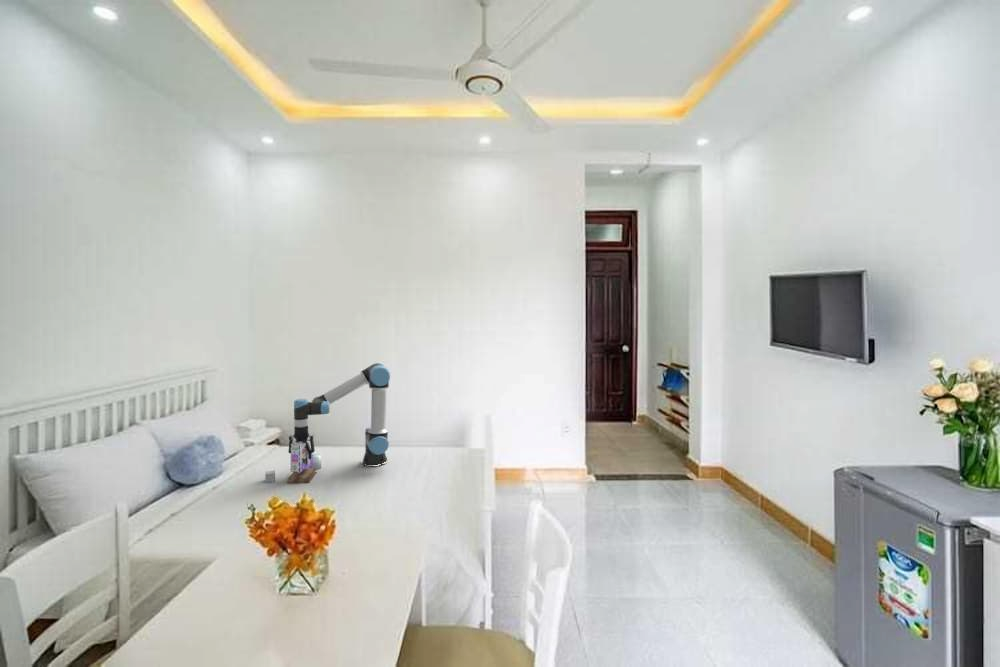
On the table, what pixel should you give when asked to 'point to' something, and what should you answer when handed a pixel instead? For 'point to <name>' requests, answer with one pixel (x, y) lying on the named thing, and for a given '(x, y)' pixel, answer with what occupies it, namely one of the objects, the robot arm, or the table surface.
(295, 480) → the brown wooden board
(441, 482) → the table surface
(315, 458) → the light grey rounded block
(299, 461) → the candy box
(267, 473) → the grey box
